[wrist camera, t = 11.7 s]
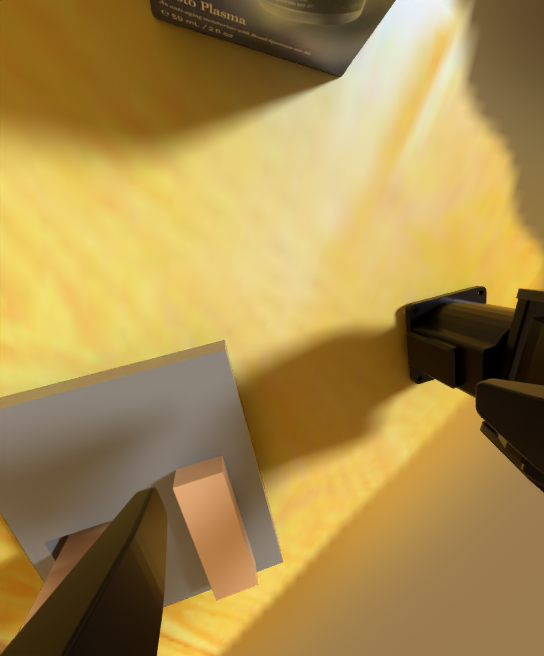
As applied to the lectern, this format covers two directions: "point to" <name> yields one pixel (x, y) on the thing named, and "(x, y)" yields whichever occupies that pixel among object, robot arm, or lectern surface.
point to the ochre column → (66, 562)
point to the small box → (284, 26)
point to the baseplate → (142, 467)
